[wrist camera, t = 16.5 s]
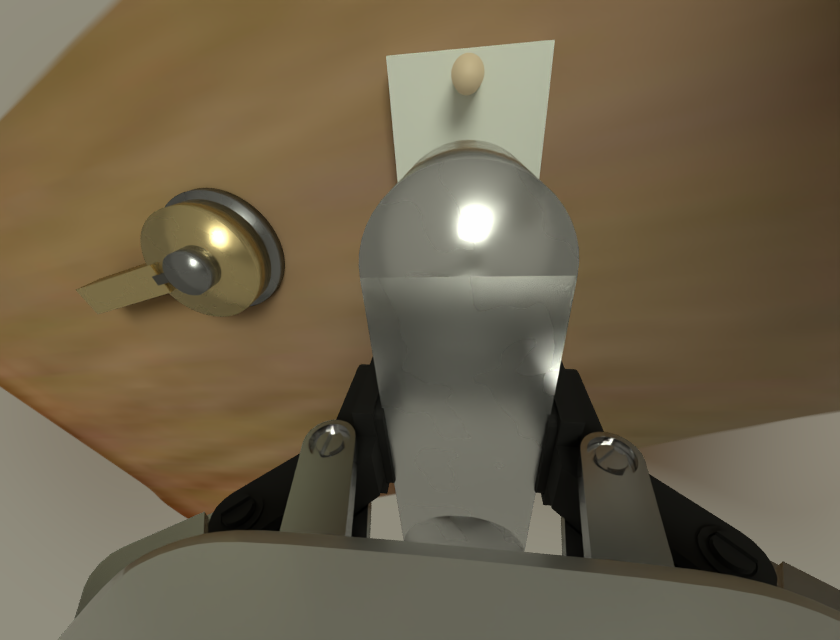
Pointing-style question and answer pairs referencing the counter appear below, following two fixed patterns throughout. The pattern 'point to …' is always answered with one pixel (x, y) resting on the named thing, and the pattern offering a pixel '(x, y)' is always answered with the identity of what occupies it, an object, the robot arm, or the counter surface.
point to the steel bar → (467, 338)
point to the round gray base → (256, 222)
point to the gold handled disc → (191, 262)
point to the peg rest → (471, 100)
